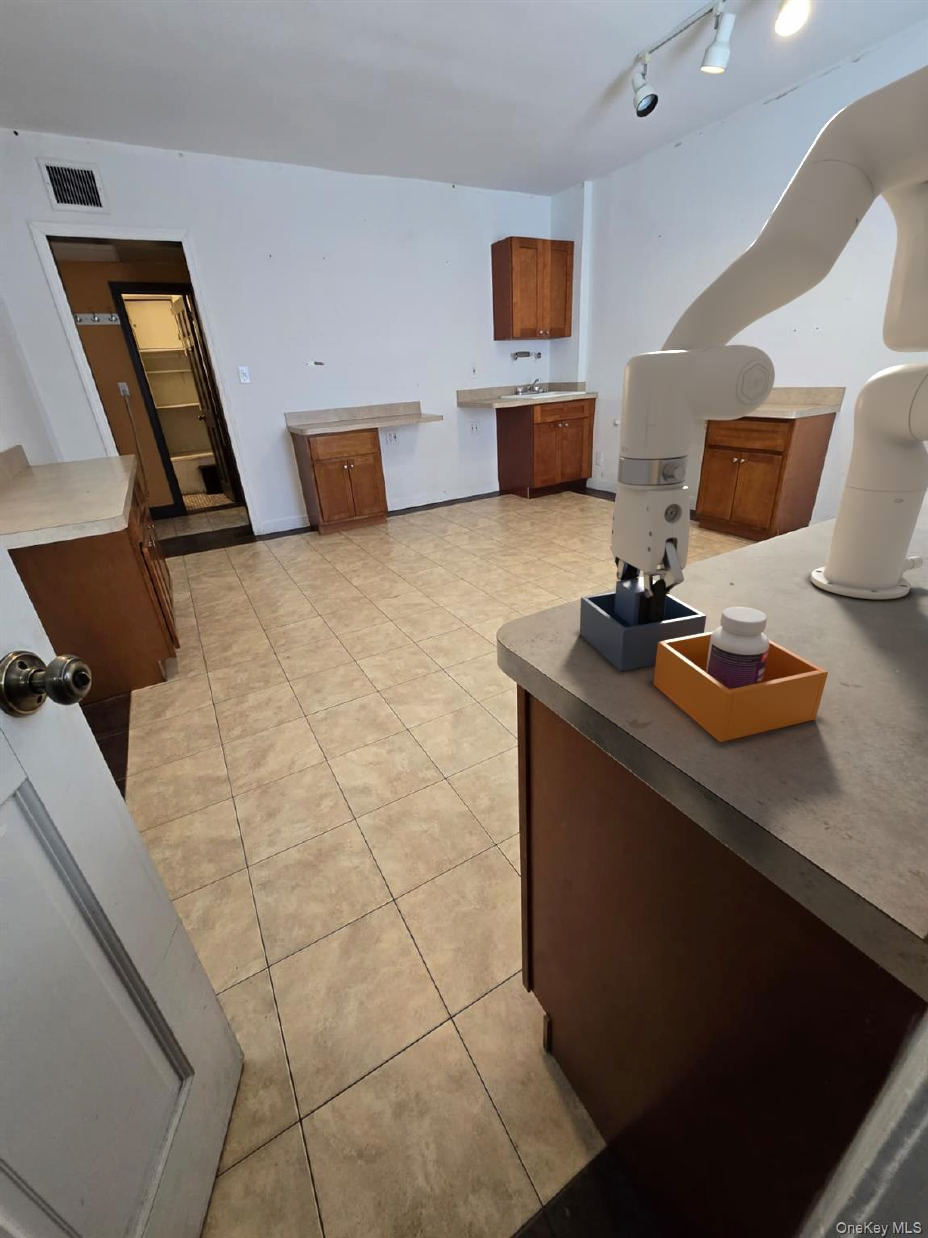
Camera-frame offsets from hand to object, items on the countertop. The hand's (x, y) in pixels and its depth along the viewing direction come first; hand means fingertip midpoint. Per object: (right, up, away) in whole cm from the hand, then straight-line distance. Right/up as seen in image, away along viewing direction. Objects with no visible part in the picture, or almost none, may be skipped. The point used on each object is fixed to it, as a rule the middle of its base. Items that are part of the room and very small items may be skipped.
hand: (638, 613), depth 67 cm
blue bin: (0, -4, +2) cm, 4 cm away
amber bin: (+6, -10, -11) cm, 16 cm away
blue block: (0, 0, 0) cm, 0 cm away
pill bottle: (+6, -9, -11) cm, 16 cm away
